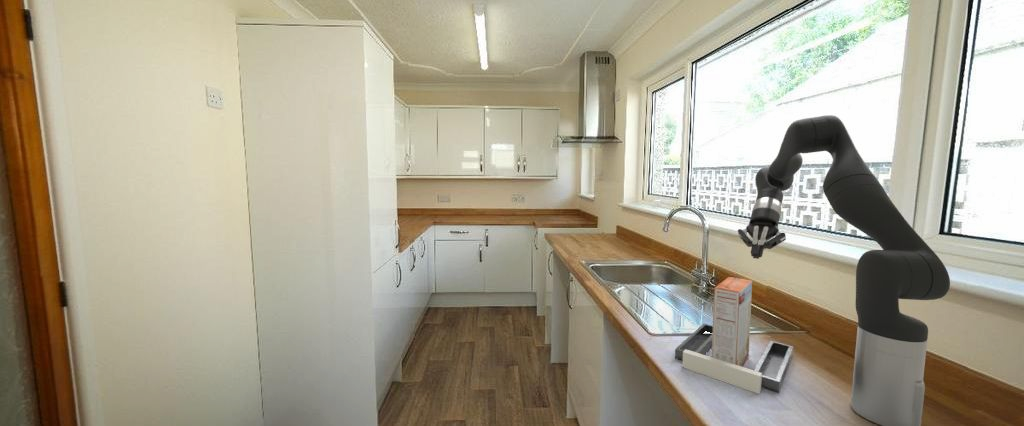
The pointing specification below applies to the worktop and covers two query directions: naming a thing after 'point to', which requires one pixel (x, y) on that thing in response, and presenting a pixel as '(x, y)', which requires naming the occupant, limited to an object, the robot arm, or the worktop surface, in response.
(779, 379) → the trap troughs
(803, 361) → the worktop surface
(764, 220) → the robot arm
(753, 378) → the bar
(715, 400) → the worktop surface
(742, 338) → the cracker box
